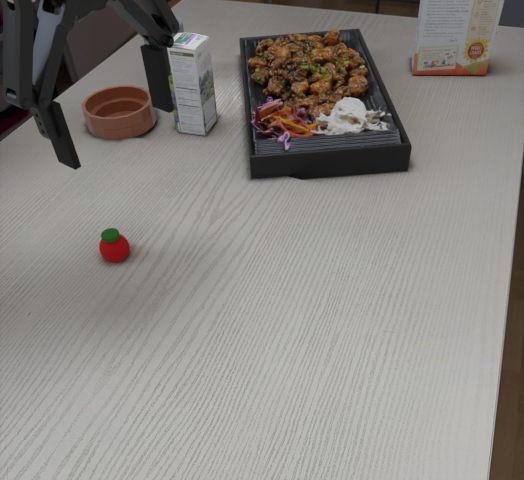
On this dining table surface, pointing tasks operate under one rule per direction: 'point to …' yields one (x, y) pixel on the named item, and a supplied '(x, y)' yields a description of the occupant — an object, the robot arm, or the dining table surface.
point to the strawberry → (113, 245)
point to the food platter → (318, 107)
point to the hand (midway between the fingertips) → (119, 135)
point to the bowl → (119, 112)
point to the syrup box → (192, 84)
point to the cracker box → (455, 36)
